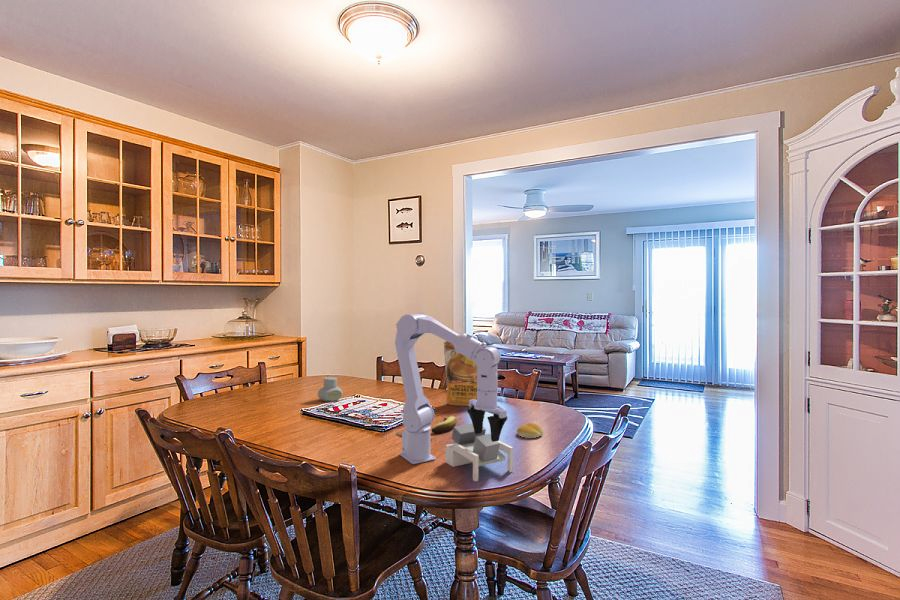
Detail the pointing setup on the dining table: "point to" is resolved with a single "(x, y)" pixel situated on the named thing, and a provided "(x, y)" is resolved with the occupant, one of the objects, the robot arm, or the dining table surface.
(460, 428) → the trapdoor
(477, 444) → the grey cube
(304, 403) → the dining table surface
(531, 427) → the bread roll
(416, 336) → the robot arm
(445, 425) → the yellow and brown crescent
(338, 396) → the air freshener
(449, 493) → the dining table surface
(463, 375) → the pancake mix bag
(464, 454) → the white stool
